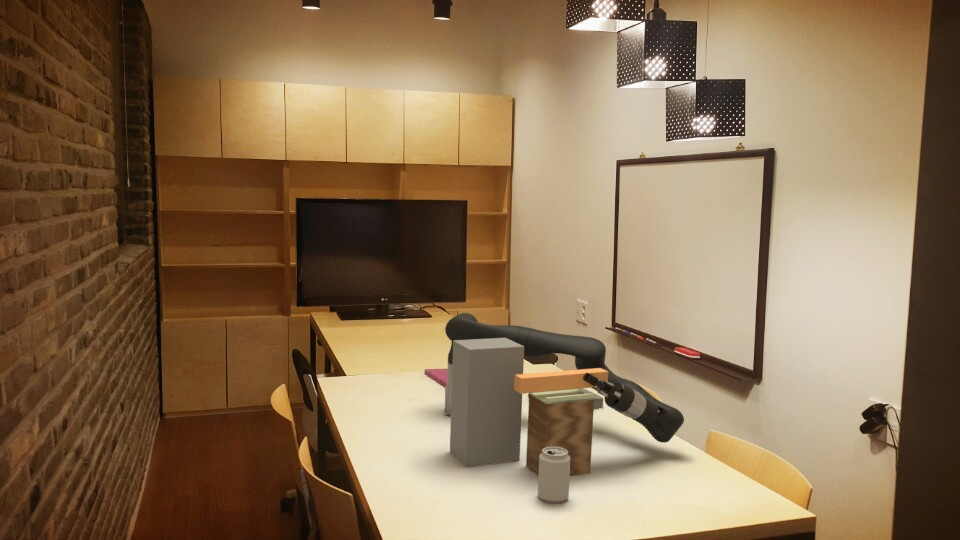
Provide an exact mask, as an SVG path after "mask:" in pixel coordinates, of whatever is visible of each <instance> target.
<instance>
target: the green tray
mask: <svg viewBox="0 0 960 540" xmlns="http://www.w3.org/2000/svg"><path fill="white" fill-rule="evenodd" d="M593 393H594V392H593ZM593 393H588V394H586V393H584V392H582V391H580V390H578V389H569V390H558V391H547V392H536V393H528V394H531V395H532V396H534V397H536V398H537V399H539V400H541V401H542V402H544V403H546V404H555V403H565V402H575V401H586V400H594V394H593Z"/></svg>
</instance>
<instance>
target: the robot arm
mask: <svg viewBox="0 0 960 540" xmlns="http://www.w3.org/2000/svg"><path fill="white" fill-rule="evenodd" d="M444 330H445V331H444V332H445V335H446V337H447V338H448V340H450V342H451V343H450V349H449V351H448V354H447V369H448V373H447V385H446V387H444V415H445V416H450V417H451V395H452V362H453V340H472V339H490V338H507V339H509V340H511V341H514V342H516V343H518V344H520V345H522V346H524V358H532V359H533V358H534V359H536V358H541V357H546V356H549V355H554V354H559V355H560V354H561V355H567V356H571V357H574V365H575V368H576V369H575V370H581V369H593V368H602V369H604V370H606V371H608V382H607V381H605V380H603V381H602V380H601V379H600V378H599V379H598V378H596V377H594V376H593V375H591V374H589V373H585V375H584V377H583V380H584V381H586V382H588V383H590V384H591V385H593V386H594V387H591V389H593V390H594V391H595V392H597V393H598V395H601V396H603V397H604V402H605V404H606V405H607V407H608V408H611V409H613V410H614V411H616V412H618V413H619V414H621V415H624V416H625V417H627V418H630V419H632V420H633V421H636V423H639V424H640V425H642V426H643V428H645V429H646V430H647V431H648V433H649V434H650V435H651V437H652V438H653V439H654V440H656V441H657V442H658V443H664V444H665V443H668V442H669V441H671V440H672V438H673V437H674V436H675V435H676V433H677V432H678V430H679V429H680V428H681V427H682V426H683V424H684V423H685V417H684V415H683V413H682V412H681V411H680V410H679V409H678V408H676V407H673V406H671V405H668V404H666V403H664V402H662V401H660V400H659V399H657V398H656V397H654V396H653V395H652V394H650V393H649V391H647V390H646V389H645V388H643V386H641V385H639V383H637V382H635V381H633V380H630V379H626V378H624V377H621V376H618V375H617V374H615V373H614V372H613V371H612V370H611V369H609V367H608V366H607V365H606V363H605V362H606V355H607V350H606V345H605V344H604V342H602V341H601V340H600V339H597V338H595V337H590V336H582V335H571V334H563V333H556V332H550V331H545V330H539V329H535V328H531V327H526V326H523V325H522V326H521V325H512V324H511V325H508V324H507V325H506V324H502V325H500V324H499V325H498V324H488V323H487V324H485V323H482V322H479V321H478V319H477V318H476V316H474V315H473V314H472V313H469V312H462V313H459V314H457V315H455V316H453V317H451V318H450V319H449V320H448V322H447V323H445V329H444Z"/></svg>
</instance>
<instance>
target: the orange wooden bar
mask: <svg viewBox="0 0 960 540" xmlns="http://www.w3.org/2000/svg"><path fill="white" fill-rule="evenodd" d="M585 373H589V374H591V375H593V376H594V377H596V378H598V379H599V378H600V379H601V380H602V381H603V380H605V381H607V382H608V371H606V370H604V369H602V368H593V369H581V370H576V369H573V370H572V369H571V370H570V369H569V370H560V371H559V370H558V371H556V370H555V371H547V372H534V373H533V372H530V373H523V374H517V375H515V379H514V390H515V391H517V392H519V393H520V394H522V395H524V394H529V393H536V392H547V391H558V390H569V389H580V388H583V389H589V388H591V387H594V386H593V385H591V384H590V383H588V382H586V381H584V380H583V377H584V375H585ZM591 389H592V388H591Z"/></svg>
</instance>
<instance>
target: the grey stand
mask: <svg viewBox="0 0 960 540" xmlns="http://www.w3.org/2000/svg"><path fill="white" fill-rule="evenodd" d="M524 361H525V357H524V346H522V345H520V344H518V343H516V342H514V341H511V340H509V339H507V338H490V339H472V340H453V362H452V395H451V416H450V427H449V428H450V432H449V434H450V435H449V440H450V441H449V453H450V454H451V455H452V456H453V457H454V458H455V459H456V460H458V462H459V463H460V464H461V465H463V467H465V468H472V467H479V466H480V467H481V466H486V465H496V464H503V463H509V462H510V463H511V461H512V462H519V460H521V459H520V458H521V456H520V455H521V439H522V438H521V434H522V431H521V429H522V415H523V414H522V411H523V410H522V407H523V394H520V393H519V392H517V391H515V390H514V379H515V375H517V374H524Z"/></svg>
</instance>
